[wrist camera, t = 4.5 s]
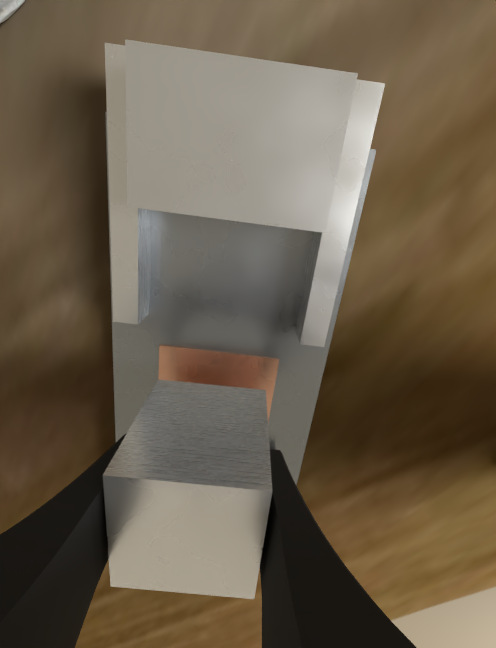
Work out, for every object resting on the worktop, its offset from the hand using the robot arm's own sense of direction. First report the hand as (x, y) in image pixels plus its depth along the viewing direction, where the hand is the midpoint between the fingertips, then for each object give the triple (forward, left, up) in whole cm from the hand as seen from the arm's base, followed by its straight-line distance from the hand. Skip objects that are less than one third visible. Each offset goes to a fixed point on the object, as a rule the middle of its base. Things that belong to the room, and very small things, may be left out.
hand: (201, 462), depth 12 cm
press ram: (0, -11, -4) cm, 11 cm away
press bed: (0, -3, -5) cm, 6 cm away
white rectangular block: (0, 0, -2) cm, 2 cm away
